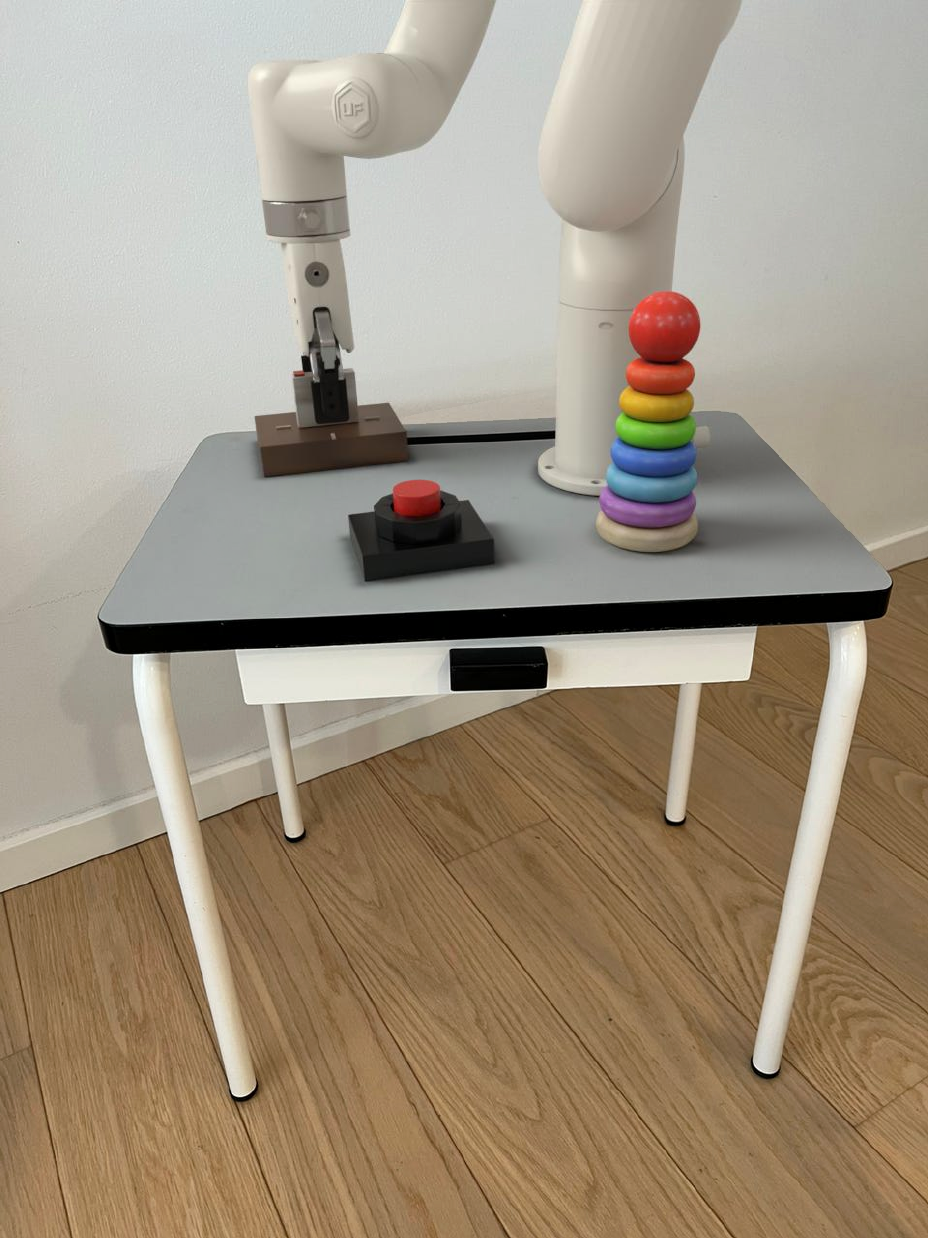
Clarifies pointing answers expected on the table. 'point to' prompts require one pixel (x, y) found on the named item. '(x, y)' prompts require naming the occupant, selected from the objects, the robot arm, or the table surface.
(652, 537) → the stacking toy
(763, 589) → the table surface
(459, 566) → the switch block
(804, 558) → the table surface
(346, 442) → the brown base block
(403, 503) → the button
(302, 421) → the grey rectangular block
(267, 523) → the table surface
